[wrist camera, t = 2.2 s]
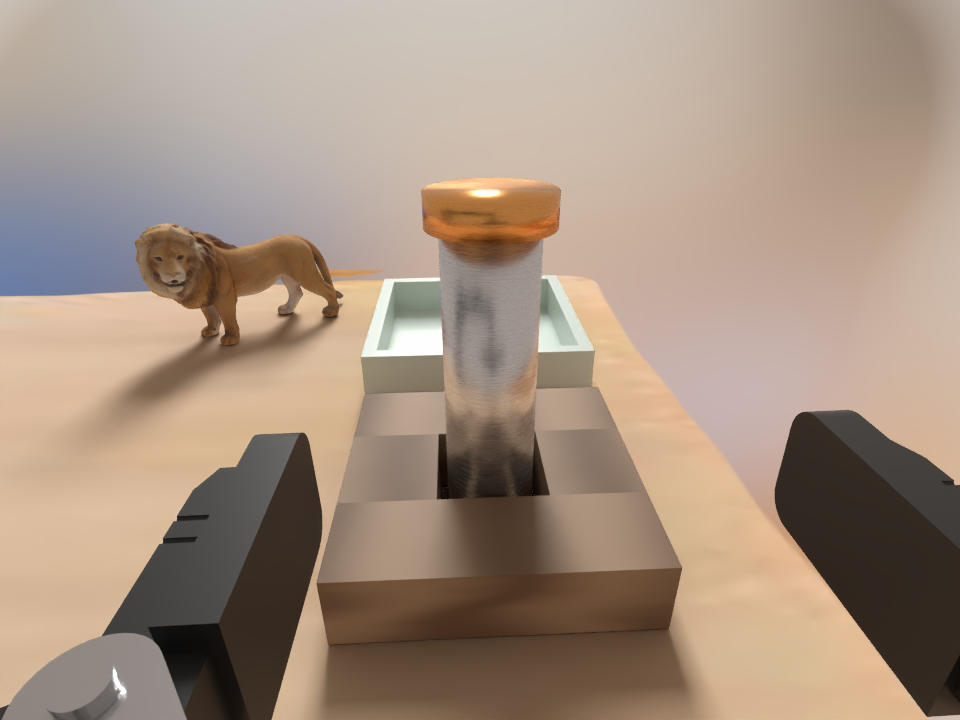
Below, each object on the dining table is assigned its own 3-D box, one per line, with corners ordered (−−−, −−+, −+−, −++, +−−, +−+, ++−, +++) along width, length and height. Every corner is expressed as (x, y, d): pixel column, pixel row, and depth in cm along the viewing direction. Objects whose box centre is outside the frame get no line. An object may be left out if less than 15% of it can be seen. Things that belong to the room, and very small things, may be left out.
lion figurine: (181, 371, 38) (144, 238, 34) (150, 348, 41) (112, 223, 37) (361, 308, 47) (349, 199, 43) (324, 294, 51) (309, 190, 46)
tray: (366, 401, 34) (360, 357, 33) (387, 314, 46) (384, 278, 45) (590, 394, 35) (594, 350, 33) (553, 310, 47) (555, 275, 45)
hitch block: (328, 644, 20) (316, 583, 18) (370, 442, 30) (365, 393, 29) (668, 628, 20) (682, 567, 19) (593, 434, 31) (597, 386, 29)
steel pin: (437, 558, 23) (417, 205, 17) (438, 484, 27) (424, 178, 21) (549, 554, 23) (573, 203, 17) (534, 481, 27) (549, 176, 21)
